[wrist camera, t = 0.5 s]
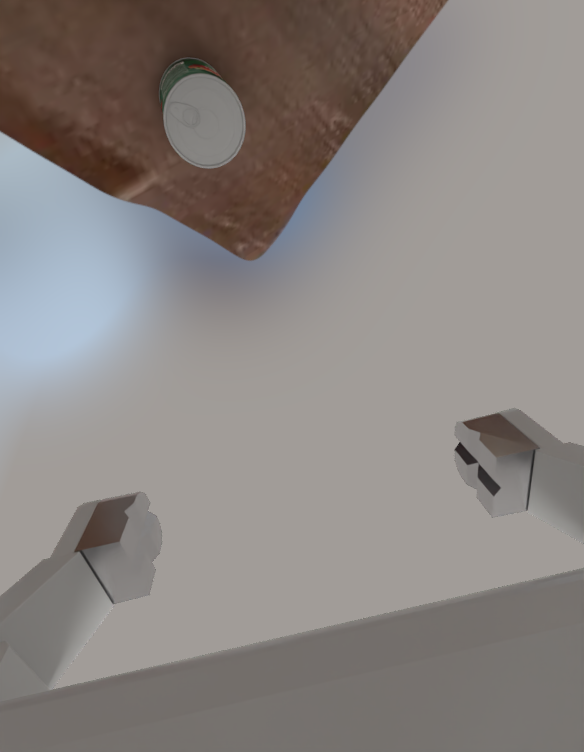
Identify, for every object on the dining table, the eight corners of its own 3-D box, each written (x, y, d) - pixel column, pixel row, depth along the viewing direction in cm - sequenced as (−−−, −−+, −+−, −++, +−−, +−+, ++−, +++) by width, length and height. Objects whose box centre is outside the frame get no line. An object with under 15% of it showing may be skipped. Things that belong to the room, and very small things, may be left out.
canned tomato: (237, 79, 44) (258, 99, 36) (216, 150, 48) (230, 180, 41) (167, 40, 40) (175, 54, 33) (151, 122, 44) (154, 149, 37)
